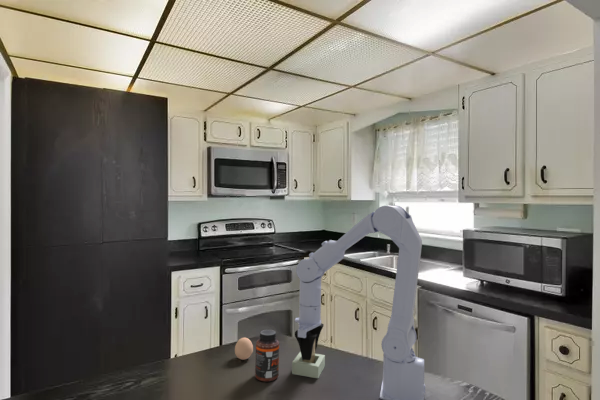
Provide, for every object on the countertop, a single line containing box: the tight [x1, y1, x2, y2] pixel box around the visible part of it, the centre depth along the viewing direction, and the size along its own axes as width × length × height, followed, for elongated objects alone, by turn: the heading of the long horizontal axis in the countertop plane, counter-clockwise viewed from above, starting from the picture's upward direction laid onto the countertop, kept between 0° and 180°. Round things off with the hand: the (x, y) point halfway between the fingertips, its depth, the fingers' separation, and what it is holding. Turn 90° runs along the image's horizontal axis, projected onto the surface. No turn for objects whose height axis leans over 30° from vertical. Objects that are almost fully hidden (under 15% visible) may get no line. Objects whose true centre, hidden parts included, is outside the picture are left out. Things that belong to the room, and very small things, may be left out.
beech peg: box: [303, 338, 316, 364], centre depth 94 cm, size 3×3×9 cm
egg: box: [234, 337, 254, 361], centre depth 99 cm, size 5×5×6 cm
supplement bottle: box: [254, 329, 280, 382], centre depth 90 cm, size 6×6×11 cm
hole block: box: [291, 350, 326, 379], centre depth 94 cm, size 7×7×3 cm
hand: (309, 355), depth 94 cm, fingers open, 4 cm apart
